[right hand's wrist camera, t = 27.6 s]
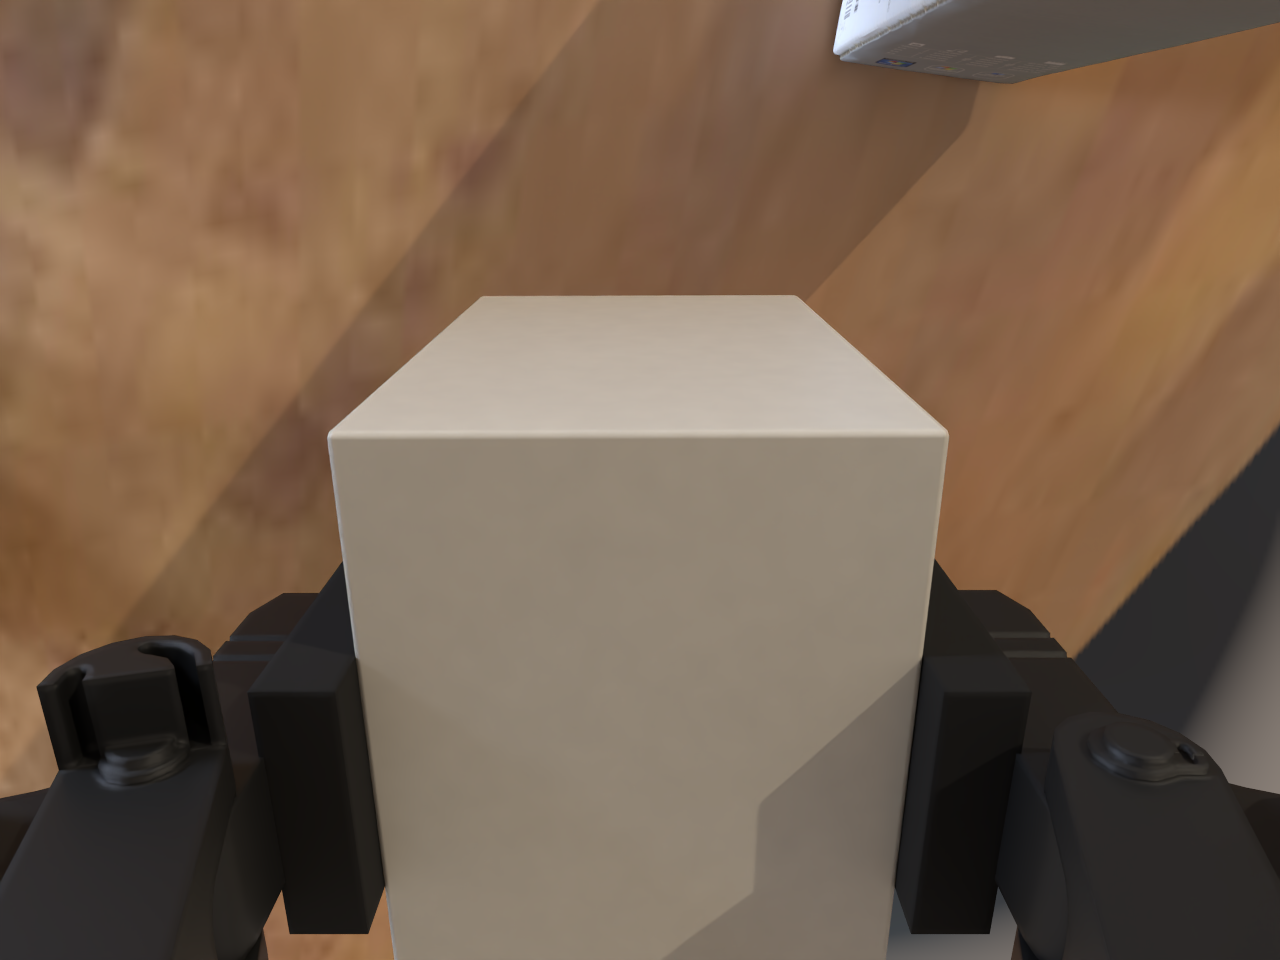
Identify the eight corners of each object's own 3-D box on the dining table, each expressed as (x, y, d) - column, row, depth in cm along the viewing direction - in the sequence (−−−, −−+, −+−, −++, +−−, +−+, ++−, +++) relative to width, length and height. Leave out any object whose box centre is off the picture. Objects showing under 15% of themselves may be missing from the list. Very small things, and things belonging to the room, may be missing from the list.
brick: (776, 675, 17) (876, 1056, 10) (503, 676, 17) (405, 1057, 10) (797, 294, 15) (952, 430, 7) (479, 295, 15) (324, 431, 7)
